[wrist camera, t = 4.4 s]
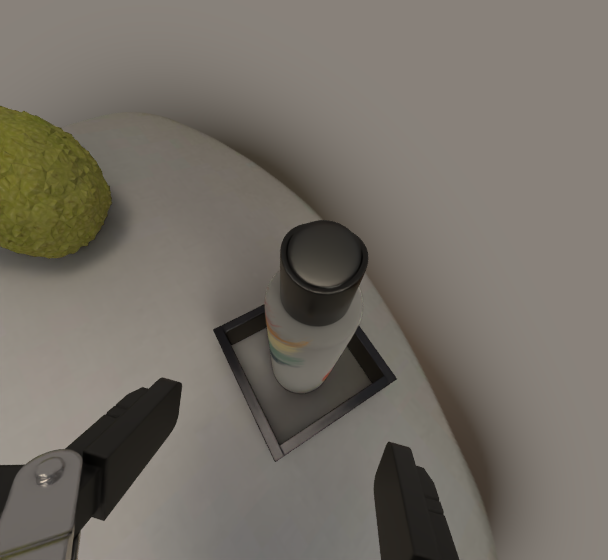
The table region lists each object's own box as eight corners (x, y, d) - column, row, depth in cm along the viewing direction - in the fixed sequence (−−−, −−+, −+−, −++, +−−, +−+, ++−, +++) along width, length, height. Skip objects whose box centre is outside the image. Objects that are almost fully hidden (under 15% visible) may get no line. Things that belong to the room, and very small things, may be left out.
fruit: (-37, 301, 31) (-230, 155, 22) (58, 233, 42) (-44, 118, 33) (91, 271, 28) (-72, 86, 19) (156, 206, 39) (73, 71, 30)
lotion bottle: (333, 344, 31) (397, 212, 14) (322, 400, 28) (387, 325, 11) (280, 331, 31) (277, 187, 14) (265, 386, 28) (238, 290, 11)
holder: (383, 387, 29) (397, 378, 26) (276, 460, 25) (274, 462, 22) (319, 292, 34) (323, 274, 30) (220, 342, 30) (212, 329, 27)
